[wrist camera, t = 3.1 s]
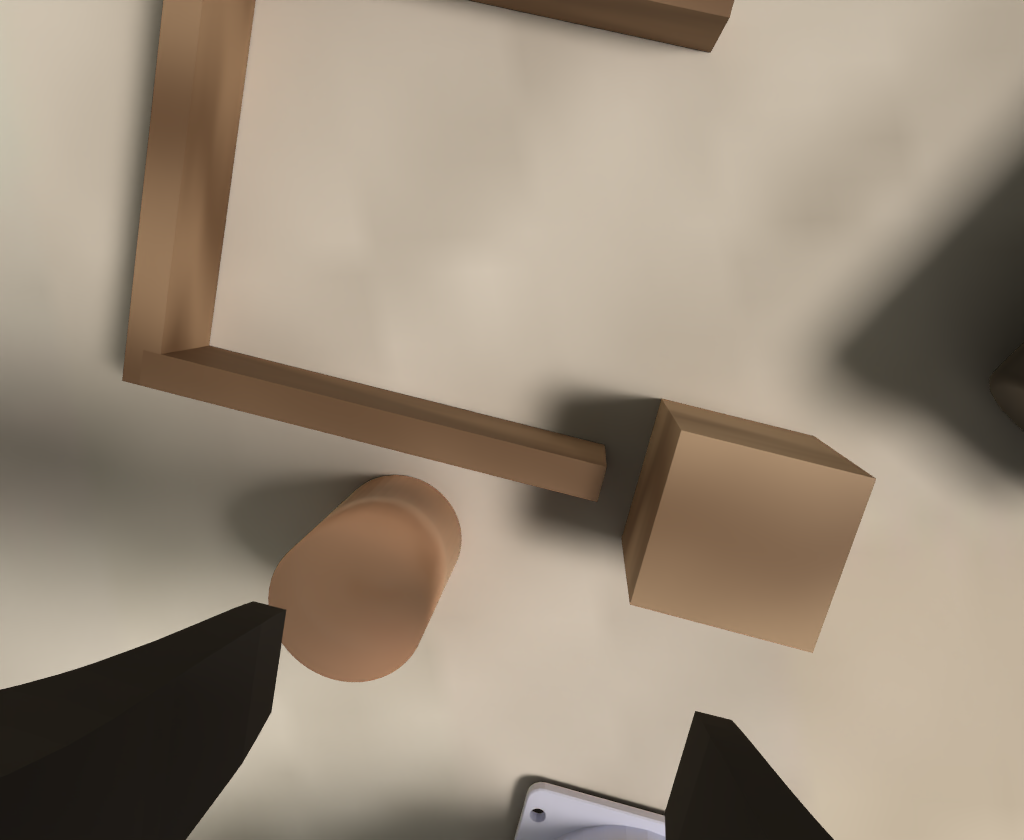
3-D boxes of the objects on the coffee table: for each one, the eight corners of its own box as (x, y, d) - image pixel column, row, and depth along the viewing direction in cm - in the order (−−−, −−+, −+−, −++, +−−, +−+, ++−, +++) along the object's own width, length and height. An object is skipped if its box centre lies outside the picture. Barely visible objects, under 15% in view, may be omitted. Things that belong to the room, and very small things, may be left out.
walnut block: (765, 575, 21) (812, 652, 17) (621, 537, 21) (630, 604, 17) (813, 435, 20) (875, 478, 16) (661, 397, 20) (681, 429, 16)
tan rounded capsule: (447, 607, 22) (408, 700, 18) (328, 576, 23) (257, 658, 18) (473, 493, 22) (440, 555, 17) (349, 461, 22) (281, 514, 17)
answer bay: (596, 476, 21) (597, 502, 18) (174, 369, 22) (121, 380, 19) (721, 11, 18) (742, -31, 16) (232, -93, 19) (179, -148, 16)
